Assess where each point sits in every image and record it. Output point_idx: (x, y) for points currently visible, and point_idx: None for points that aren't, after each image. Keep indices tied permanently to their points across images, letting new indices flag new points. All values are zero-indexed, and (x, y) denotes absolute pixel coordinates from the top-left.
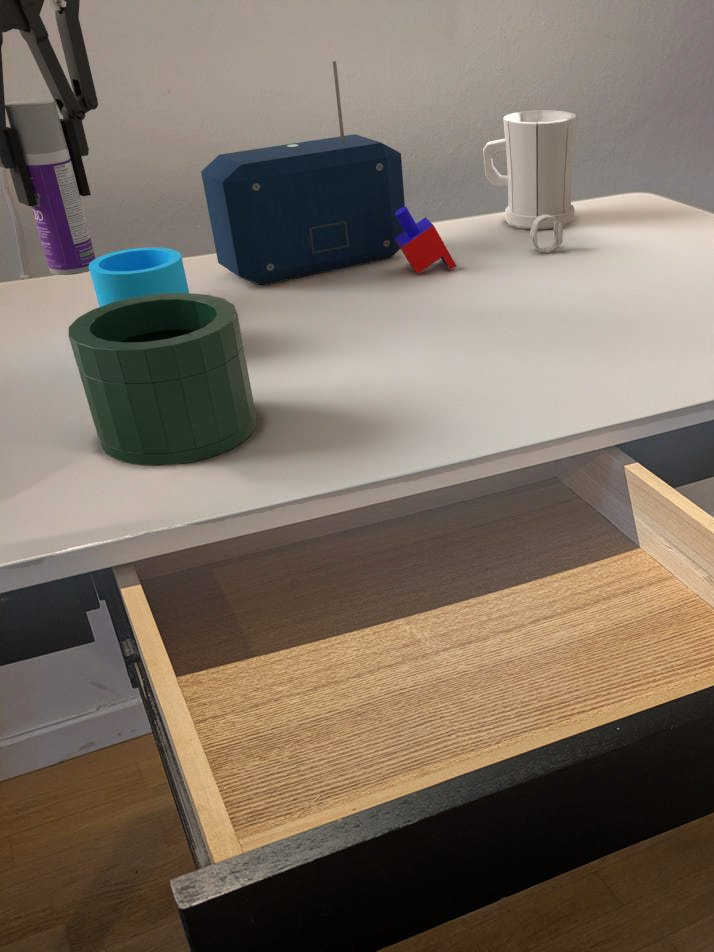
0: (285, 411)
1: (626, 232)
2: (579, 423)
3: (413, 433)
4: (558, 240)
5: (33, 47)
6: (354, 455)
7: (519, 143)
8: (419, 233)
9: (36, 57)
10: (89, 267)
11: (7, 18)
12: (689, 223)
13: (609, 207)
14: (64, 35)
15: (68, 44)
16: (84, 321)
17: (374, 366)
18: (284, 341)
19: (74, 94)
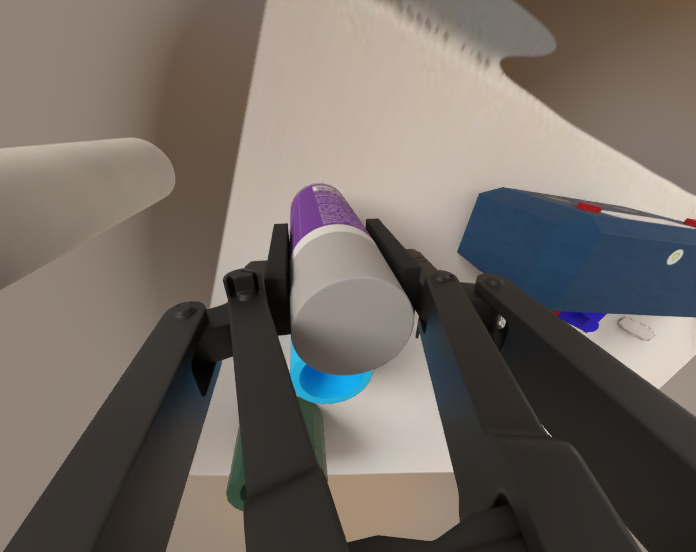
0: (334, 425)
1: (678, 320)
2: (410, 470)
3: (361, 457)
4: (630, 332)
5: (463, 445)
6: (332, 461)
7: None
8: (576, 324)
9: (457, 398)
10: (291, 373)
11: None
12: None
13: None
14: (612, 449)
15: (574, 432)
16: (241, 481)
17: (401, 406)
18: (394, 357)
19: (487, 294)
